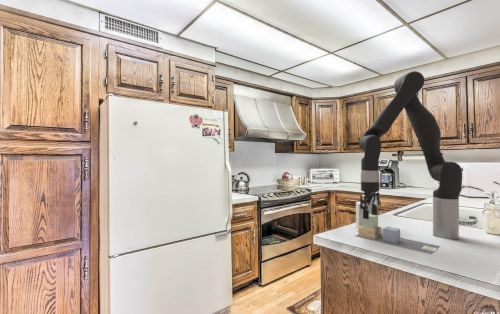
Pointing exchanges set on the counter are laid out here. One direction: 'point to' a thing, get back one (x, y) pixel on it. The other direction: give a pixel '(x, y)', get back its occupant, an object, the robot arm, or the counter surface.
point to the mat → (405, 244)
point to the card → (429, 248)
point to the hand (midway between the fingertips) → (370, 217)
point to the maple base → (370, 232)
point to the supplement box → (360, 214)
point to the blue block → (391, 234)
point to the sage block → (370, 221)
